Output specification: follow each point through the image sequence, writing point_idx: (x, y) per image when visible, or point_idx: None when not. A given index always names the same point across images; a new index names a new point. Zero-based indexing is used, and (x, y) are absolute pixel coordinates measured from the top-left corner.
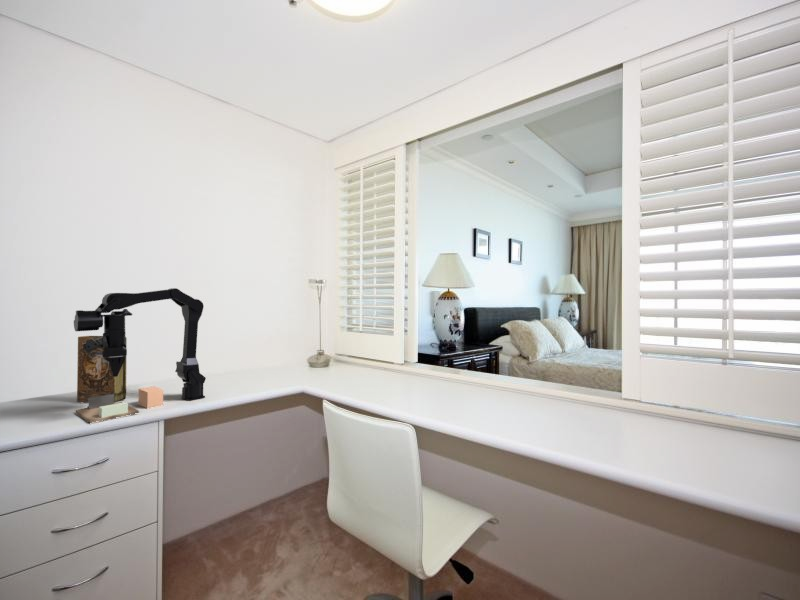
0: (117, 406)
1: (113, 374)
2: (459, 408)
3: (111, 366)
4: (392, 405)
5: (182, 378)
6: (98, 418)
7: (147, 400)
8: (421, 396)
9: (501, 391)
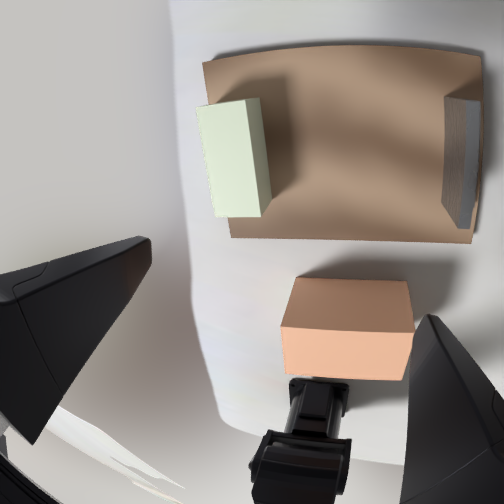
0: (209, 172)
1: (122, 245)
2: (54, 417)
3: (36, 273)
4: (75, 420)
5: (312, 447)
6: (213, 91)
7: (289, 299)
8: (98, 445)
9: (92, 456)
